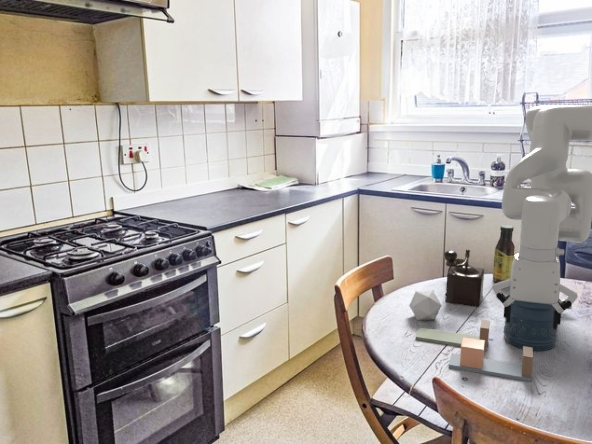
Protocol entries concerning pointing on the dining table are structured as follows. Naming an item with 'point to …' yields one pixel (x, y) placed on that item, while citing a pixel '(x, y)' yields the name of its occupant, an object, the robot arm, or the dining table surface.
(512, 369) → the cargo strip
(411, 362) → the dining table surface
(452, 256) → the manual coffee grinder
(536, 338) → the canister
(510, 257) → the sauce bottle
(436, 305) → the die
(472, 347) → the terracotta block
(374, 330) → the dining table surface
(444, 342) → the empty strip
